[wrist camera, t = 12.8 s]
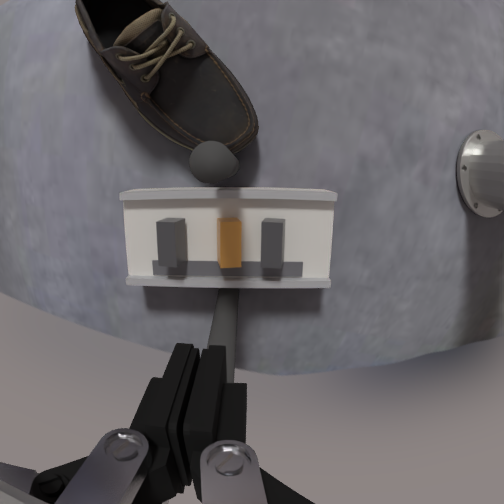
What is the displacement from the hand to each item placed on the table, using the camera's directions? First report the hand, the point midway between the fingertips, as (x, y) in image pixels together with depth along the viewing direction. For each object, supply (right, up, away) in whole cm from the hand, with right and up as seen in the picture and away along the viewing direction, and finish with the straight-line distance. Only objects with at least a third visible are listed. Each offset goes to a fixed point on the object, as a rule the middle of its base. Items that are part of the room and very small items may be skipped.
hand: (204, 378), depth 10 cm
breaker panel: (-1, +7, +26) cm, 27 cm away
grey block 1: (-6, +6, +22) cm, 23 cm away
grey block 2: (+4, +6, +22) cm, 23 cm away
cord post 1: (-1, +14, +24) cm, 28 cm away
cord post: (-1, 0, +28) cm, 28 cm away
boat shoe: (-9, +26, +21) cm, 35 cm away
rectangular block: (-1, +6, +22) cm, 23 cm away
